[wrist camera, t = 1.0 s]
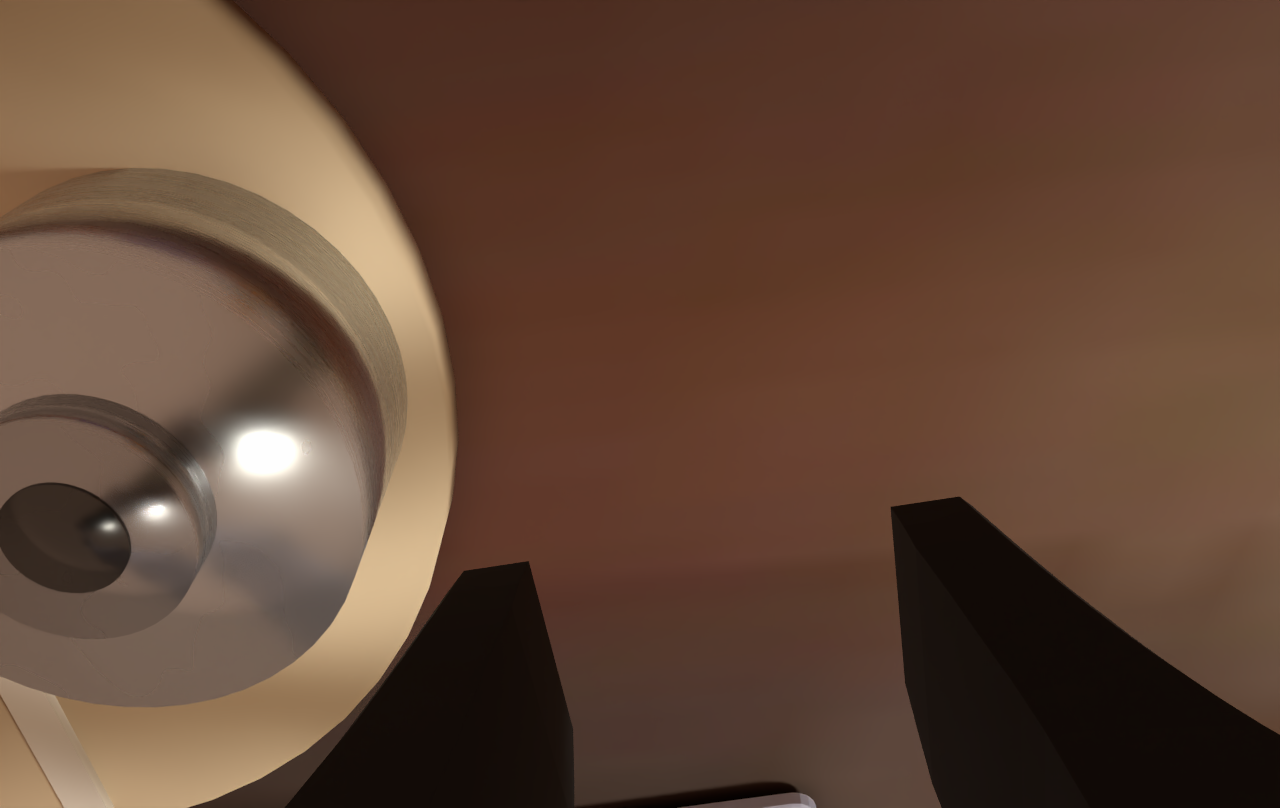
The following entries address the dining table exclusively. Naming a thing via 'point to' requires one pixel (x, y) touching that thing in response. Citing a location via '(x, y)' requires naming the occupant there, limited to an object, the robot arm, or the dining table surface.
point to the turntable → (346, 217)
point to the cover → (181, 437)
